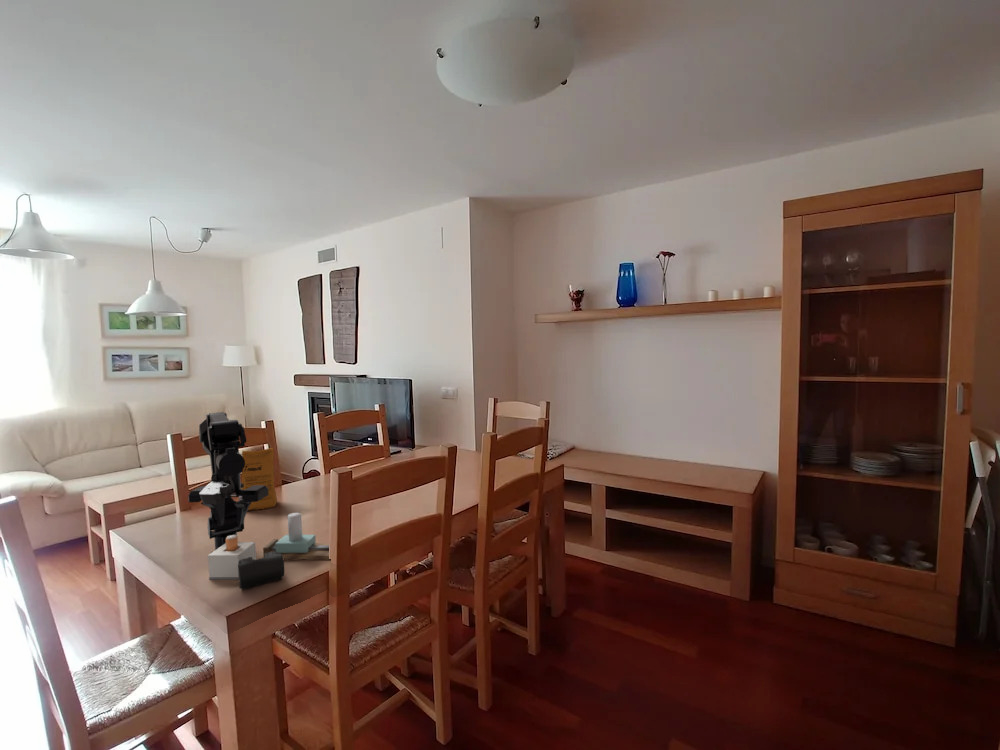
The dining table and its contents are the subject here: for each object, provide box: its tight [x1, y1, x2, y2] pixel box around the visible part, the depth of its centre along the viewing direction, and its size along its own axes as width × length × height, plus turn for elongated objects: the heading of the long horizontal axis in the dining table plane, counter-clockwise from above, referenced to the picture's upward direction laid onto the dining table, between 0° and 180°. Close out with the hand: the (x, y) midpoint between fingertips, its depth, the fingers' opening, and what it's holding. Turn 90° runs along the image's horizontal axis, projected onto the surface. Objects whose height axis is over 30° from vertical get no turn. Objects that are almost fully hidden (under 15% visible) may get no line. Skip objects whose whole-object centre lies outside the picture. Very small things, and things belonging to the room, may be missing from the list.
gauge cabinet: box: [207, 541, 257, 581], centre depth 124 cm, size 8×8×6 cm
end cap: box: [238, 551, 285, 591], centre depth 118 cm, size 10×7×7 cm
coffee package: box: [241, 447, 278, 512], centre depth 175 cm, size 10×12×22 cm
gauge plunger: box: [226, 534, 239, 551], centre depth 124 cm, size 3×3×4 cm
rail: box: [262, 538, 330, 561], centre depth 135 cm, size 21×8×3 cm, turn 88°
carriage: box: [275, 512, 317, 553], centre depth 135 cm, size 9×6×10 cm, turn 88°
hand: (230, 524), depth 124 cm, fingers open, 5 cm apart
